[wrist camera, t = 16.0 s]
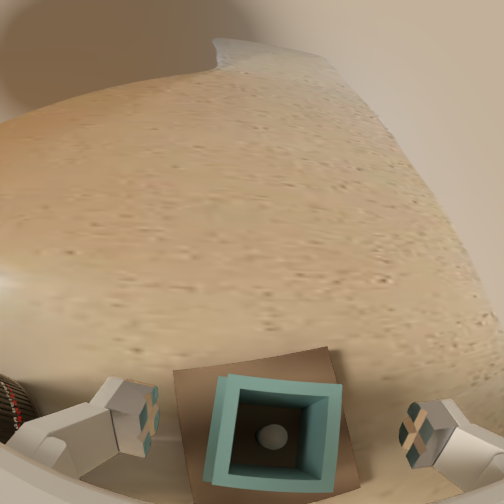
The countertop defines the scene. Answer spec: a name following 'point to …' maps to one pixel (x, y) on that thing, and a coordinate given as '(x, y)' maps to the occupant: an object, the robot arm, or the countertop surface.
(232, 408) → the flanged sleeve
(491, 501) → the robot arm
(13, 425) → the black white cylinder
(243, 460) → the walnut post base
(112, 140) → the countertop surface
